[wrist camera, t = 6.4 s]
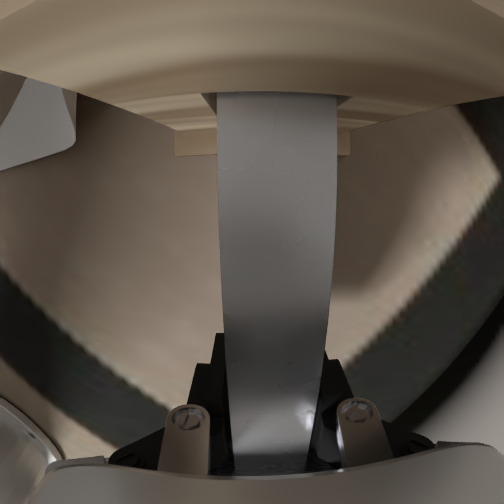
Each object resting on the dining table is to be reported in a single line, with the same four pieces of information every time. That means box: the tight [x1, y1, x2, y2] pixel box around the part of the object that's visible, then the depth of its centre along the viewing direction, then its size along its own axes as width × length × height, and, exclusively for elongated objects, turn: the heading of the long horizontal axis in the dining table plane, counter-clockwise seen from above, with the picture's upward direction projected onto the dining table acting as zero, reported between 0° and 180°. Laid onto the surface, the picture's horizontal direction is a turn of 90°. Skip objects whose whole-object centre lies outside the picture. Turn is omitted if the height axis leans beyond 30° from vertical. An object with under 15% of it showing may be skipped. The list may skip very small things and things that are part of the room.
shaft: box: [217, 91, 337, 476], centre depth 7 cm, size 22×6×5 cm, turn 1°
